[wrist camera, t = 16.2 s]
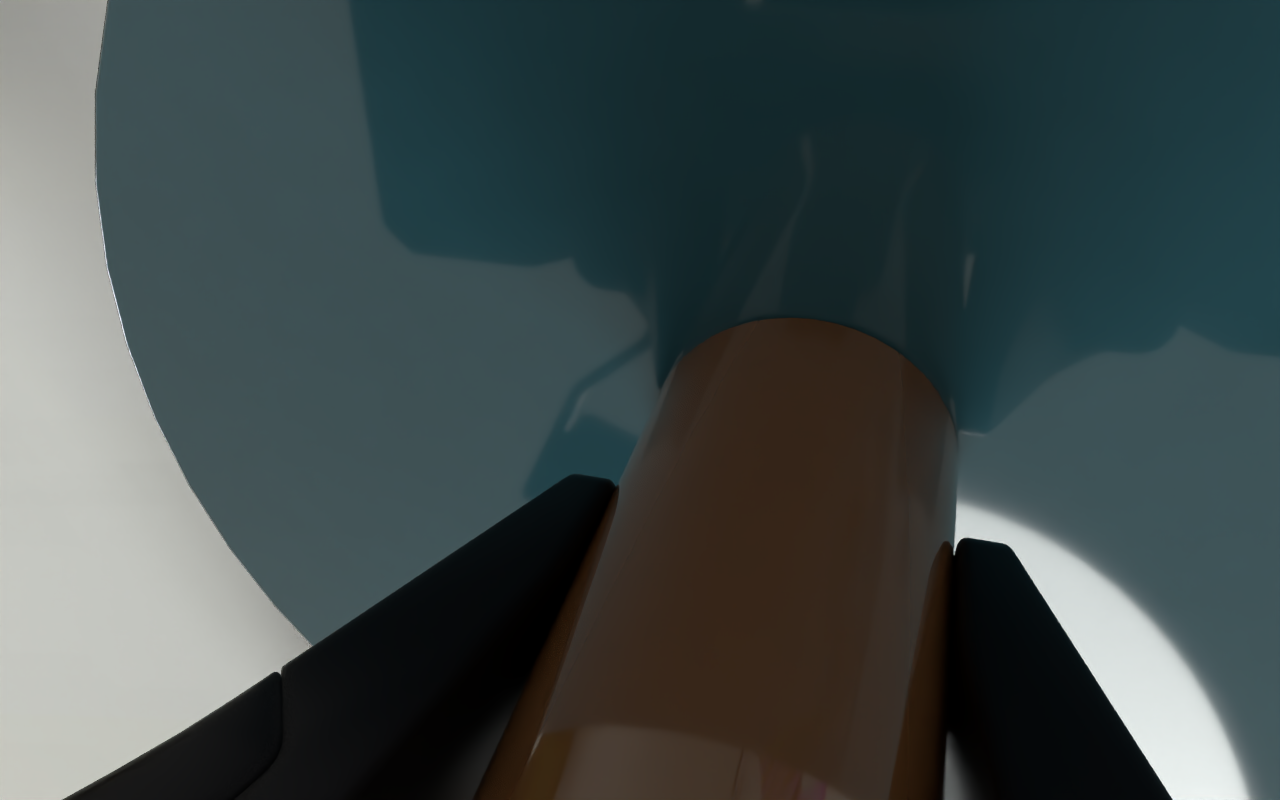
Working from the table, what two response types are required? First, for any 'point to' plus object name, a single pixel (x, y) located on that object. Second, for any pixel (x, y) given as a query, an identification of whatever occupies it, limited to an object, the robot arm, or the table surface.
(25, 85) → the table surface
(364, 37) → the lid
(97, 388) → the table surface
